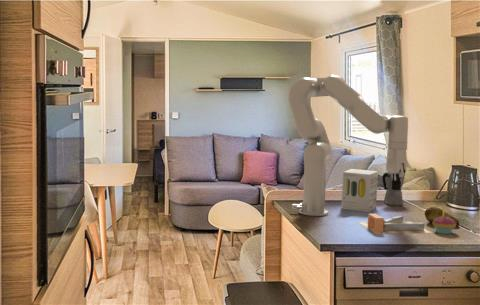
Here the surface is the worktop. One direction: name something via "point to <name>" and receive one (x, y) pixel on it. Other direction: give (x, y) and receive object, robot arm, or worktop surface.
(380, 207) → the worktop surface
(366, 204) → the supplement box
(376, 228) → the lock collar
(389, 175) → the coffeepot
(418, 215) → the worktop surface
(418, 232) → the board
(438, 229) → the cupcake
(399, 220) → the jaw
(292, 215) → the worktop surface
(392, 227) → the fixed jaw
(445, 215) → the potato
